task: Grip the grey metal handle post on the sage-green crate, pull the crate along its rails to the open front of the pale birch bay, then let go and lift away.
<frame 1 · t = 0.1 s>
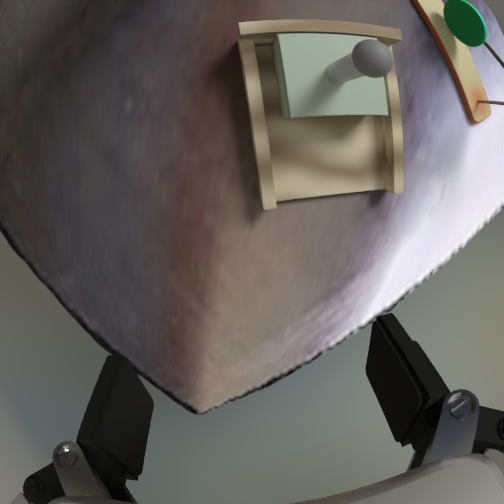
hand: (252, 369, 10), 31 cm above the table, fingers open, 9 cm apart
crank mechanism: (454, 55, 29), on the table
crate: (345, 69, 24), point 10 cm above the table, slide at 0.0 cm
bay: (323, 112, 34), on the table
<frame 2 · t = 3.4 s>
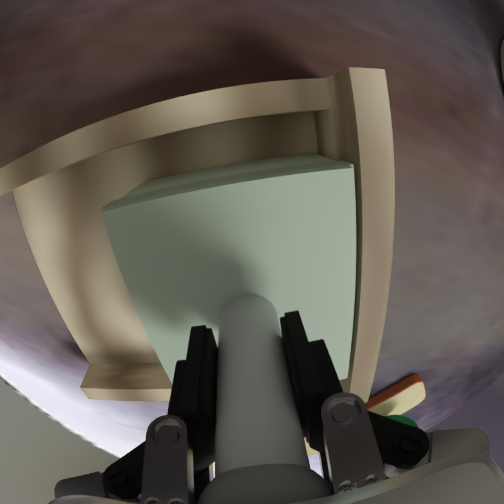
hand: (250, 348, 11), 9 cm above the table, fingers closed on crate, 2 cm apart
crank mechanism: (334, 426, 31), on the table
crate: (251, 354, 11), point 9 cm above the table, slide at 0.0 cm, touching gripper
bay: (177, 262, 19), on the table
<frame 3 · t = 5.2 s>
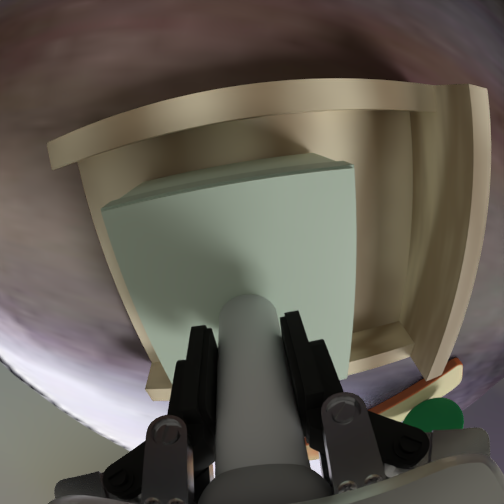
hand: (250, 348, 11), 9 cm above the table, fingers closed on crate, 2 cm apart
crank mechanism: (380, 412, 31), on the table
crate: (251, 354, 11), point 9 cm above the table, slide at 6.7 cm, touching gripper
bay: (275, 245, 19), on the table
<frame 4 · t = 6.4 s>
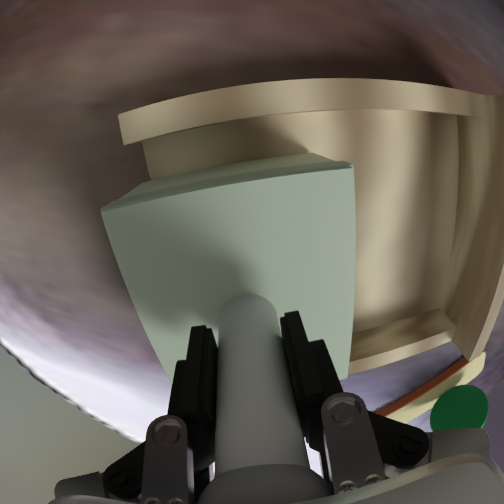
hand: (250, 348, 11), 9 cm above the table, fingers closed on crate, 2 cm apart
crank mechanism: (410, 401, 31), on the table
crate: (251, 354, 11), point 9 cm above the table, slide at 11.4 cm, touching gripper
bay: (341, 235, 19), on the table
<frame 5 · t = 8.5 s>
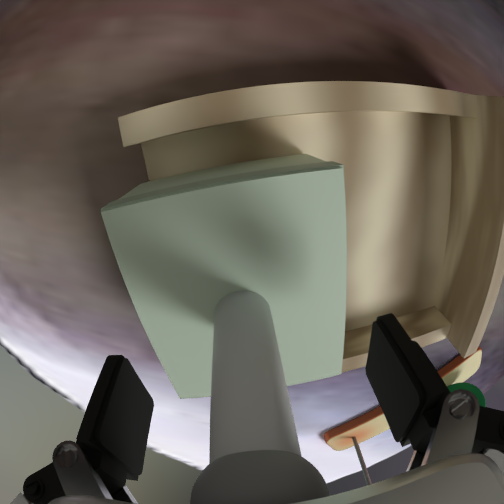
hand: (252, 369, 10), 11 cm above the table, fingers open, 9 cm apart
crank mechanism: (407, 399, 31), on the table
crate: (245, 348, 11), point 9 cm above the table, slide at 11.5 cm
bay: (336, 233, 20), on the table
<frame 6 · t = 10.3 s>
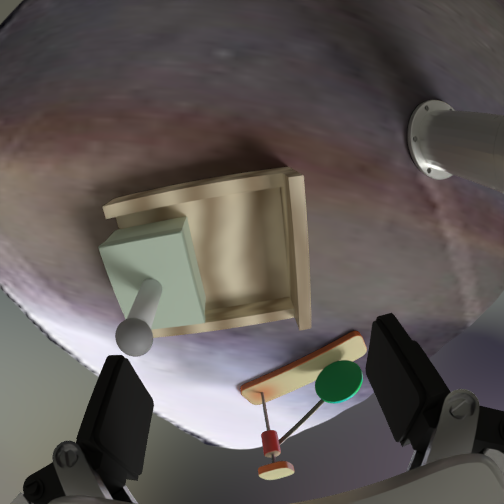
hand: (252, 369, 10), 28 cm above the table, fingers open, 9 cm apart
crank mechanism: (302, 368, 50), on the table
crate: (147, 298, 30), point 9 cm above the table, slide at 11.5 cm
bay: (211, 253, 39), on the table
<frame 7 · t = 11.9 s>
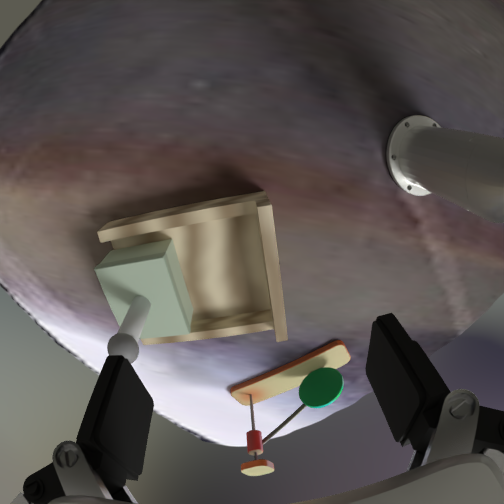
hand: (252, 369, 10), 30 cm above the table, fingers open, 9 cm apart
crank mechanism: (288, 373, 54), on the table
crate: (137, 314, 33), point 9 cm above the table, slide at 11.5 cm
bay: (196, 270, 42), on the table
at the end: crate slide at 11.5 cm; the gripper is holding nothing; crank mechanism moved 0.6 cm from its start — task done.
